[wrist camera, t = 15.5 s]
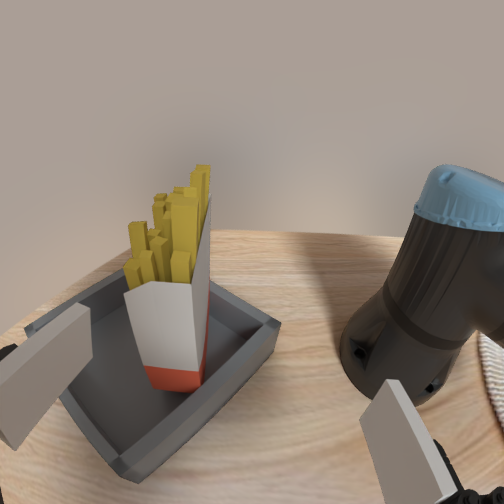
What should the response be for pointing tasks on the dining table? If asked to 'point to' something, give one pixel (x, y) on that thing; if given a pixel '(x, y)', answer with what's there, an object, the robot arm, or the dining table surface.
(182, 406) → the tray
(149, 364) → the french fries container
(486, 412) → the dining table surface
